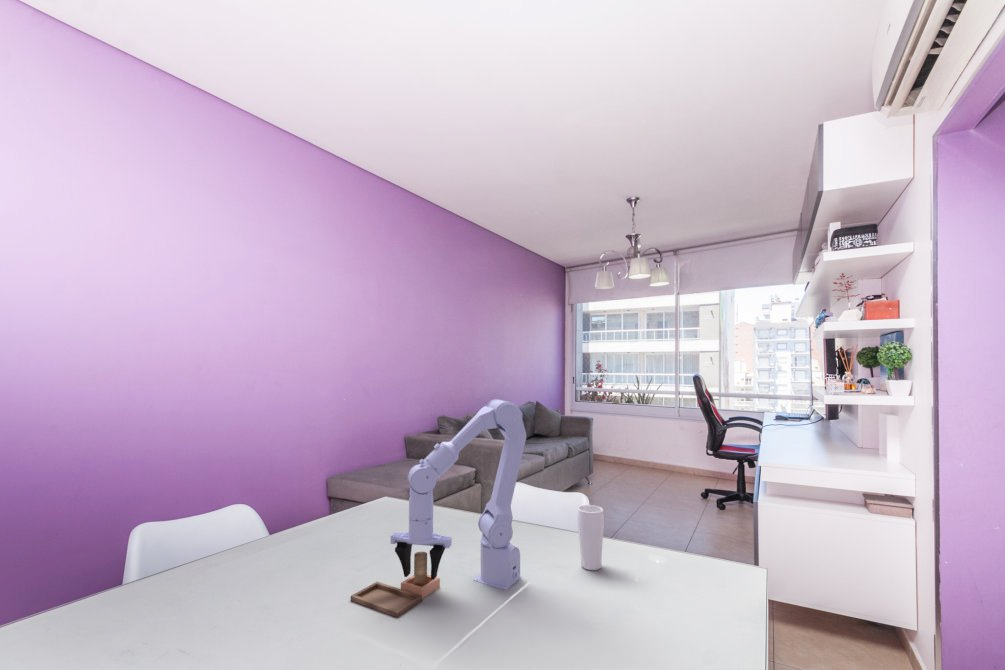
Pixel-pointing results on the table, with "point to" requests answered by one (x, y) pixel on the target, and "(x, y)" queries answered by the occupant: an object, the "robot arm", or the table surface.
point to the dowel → (420, 569)
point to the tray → (386, 599)
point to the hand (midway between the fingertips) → (420, 576)
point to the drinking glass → (591, 536)
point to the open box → (422, 591)
